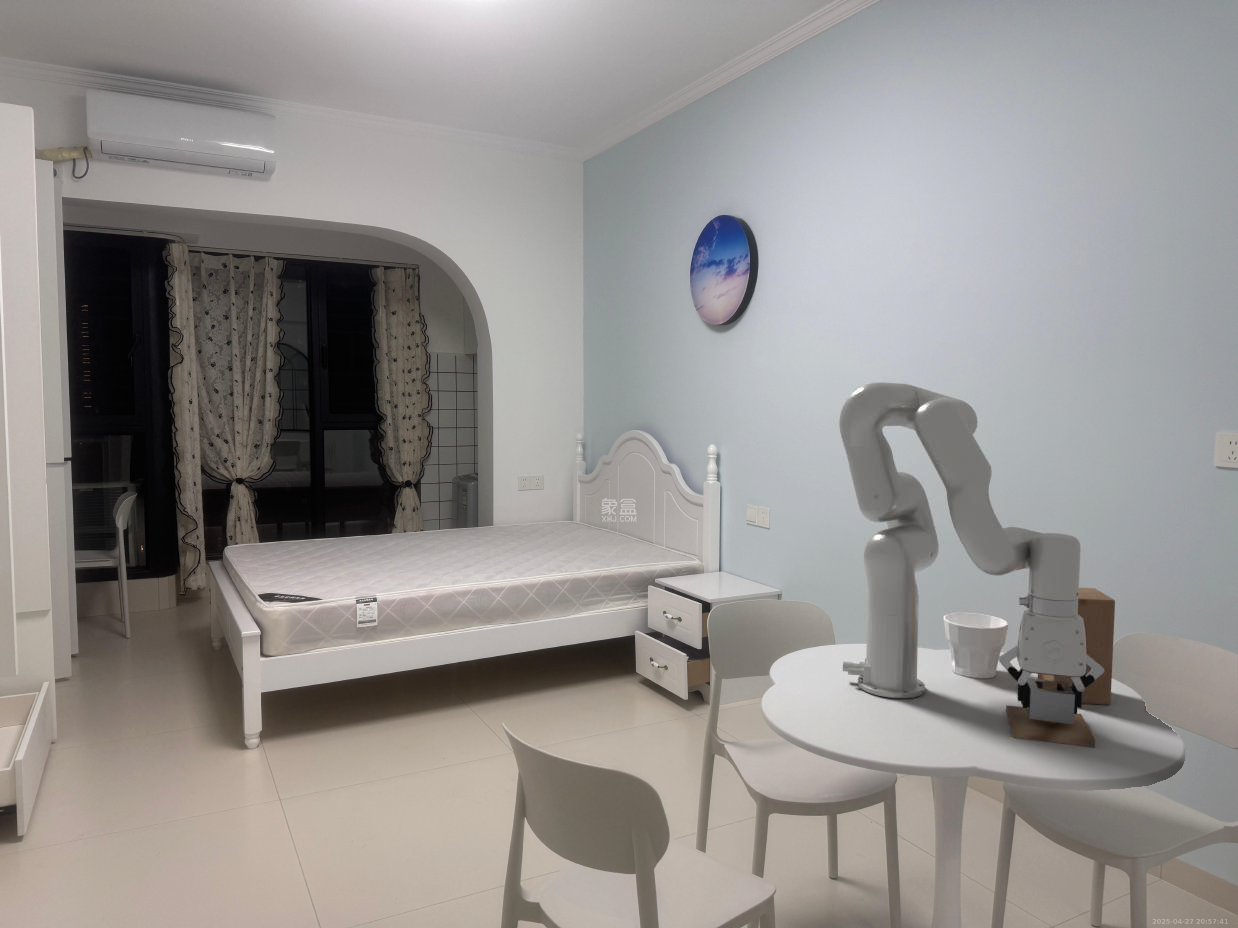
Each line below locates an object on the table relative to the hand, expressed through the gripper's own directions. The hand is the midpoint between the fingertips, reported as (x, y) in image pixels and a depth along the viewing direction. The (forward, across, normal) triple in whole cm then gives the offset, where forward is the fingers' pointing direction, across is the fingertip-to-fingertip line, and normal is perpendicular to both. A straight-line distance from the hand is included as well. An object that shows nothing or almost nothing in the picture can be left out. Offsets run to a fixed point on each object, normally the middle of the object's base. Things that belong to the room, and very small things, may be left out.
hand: (1048, 707), depth 139 cm
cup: (+4, -10, +28) cm, 30 cm away
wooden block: (+4, +7, +20) cm, 22 cm away
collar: (+1, 0, 0) cm, 1 cm away
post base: (+4, 0, 0) cm, 4 cm away
